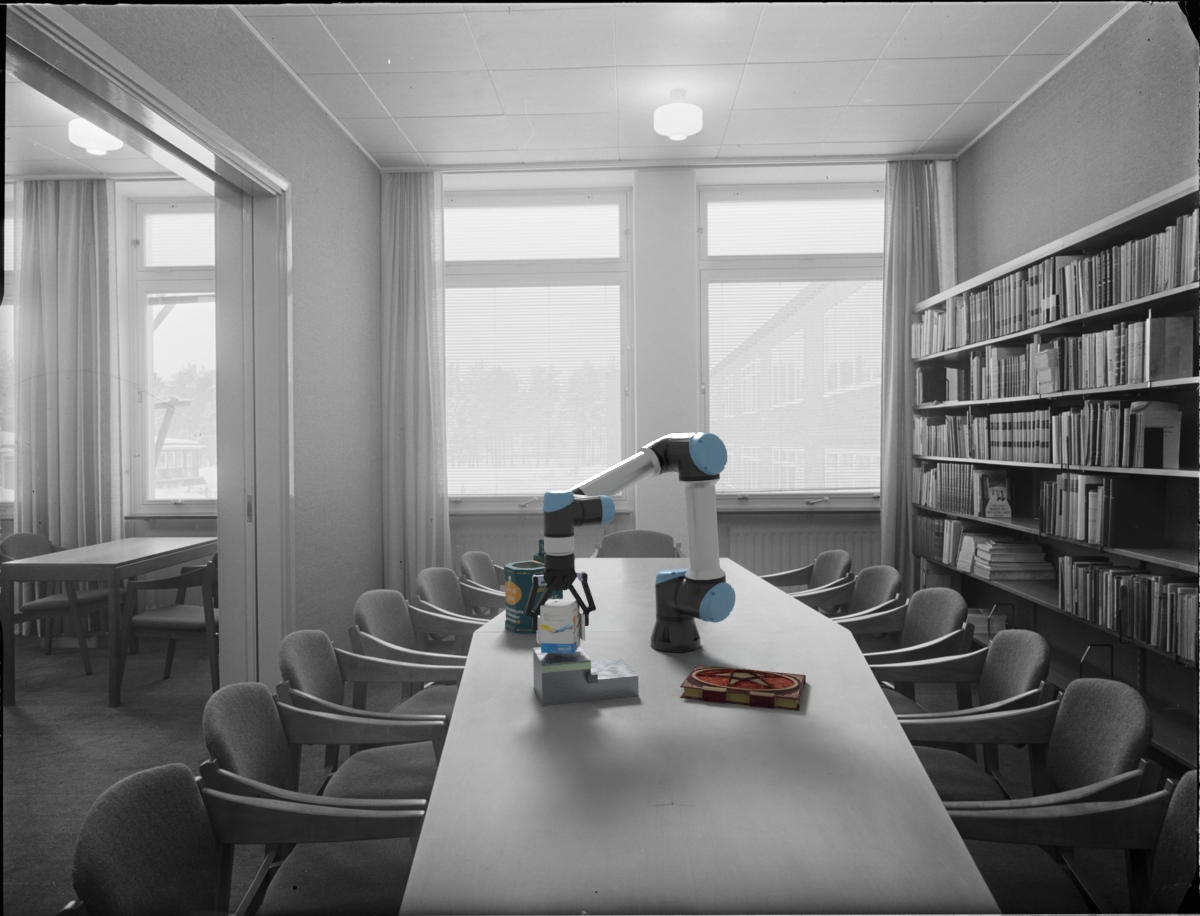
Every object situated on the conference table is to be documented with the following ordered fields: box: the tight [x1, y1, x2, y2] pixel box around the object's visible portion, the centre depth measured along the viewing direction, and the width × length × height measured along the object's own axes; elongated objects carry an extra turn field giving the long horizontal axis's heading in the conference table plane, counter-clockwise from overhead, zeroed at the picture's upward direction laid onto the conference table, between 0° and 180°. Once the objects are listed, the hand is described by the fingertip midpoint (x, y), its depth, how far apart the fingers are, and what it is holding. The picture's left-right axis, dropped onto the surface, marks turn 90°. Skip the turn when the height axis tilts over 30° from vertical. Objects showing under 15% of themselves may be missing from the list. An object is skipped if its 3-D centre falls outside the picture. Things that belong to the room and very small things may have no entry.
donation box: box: [503, 538, 564, 635], centre depth 250 cm, size 16×16×28 cm
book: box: [679, 664, 807, 712], centre depth 187 cm, size 28×21×5 cm
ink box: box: [540, 598, 581, 654], centre depth 186 cm, size 9×8×12 cm
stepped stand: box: [532, 645, 640, 707], centre depth 187 cm, size 24×16×10 cm
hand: (561, 640), depth 186 cm, fingers closed on ink box, 10 cm apart
